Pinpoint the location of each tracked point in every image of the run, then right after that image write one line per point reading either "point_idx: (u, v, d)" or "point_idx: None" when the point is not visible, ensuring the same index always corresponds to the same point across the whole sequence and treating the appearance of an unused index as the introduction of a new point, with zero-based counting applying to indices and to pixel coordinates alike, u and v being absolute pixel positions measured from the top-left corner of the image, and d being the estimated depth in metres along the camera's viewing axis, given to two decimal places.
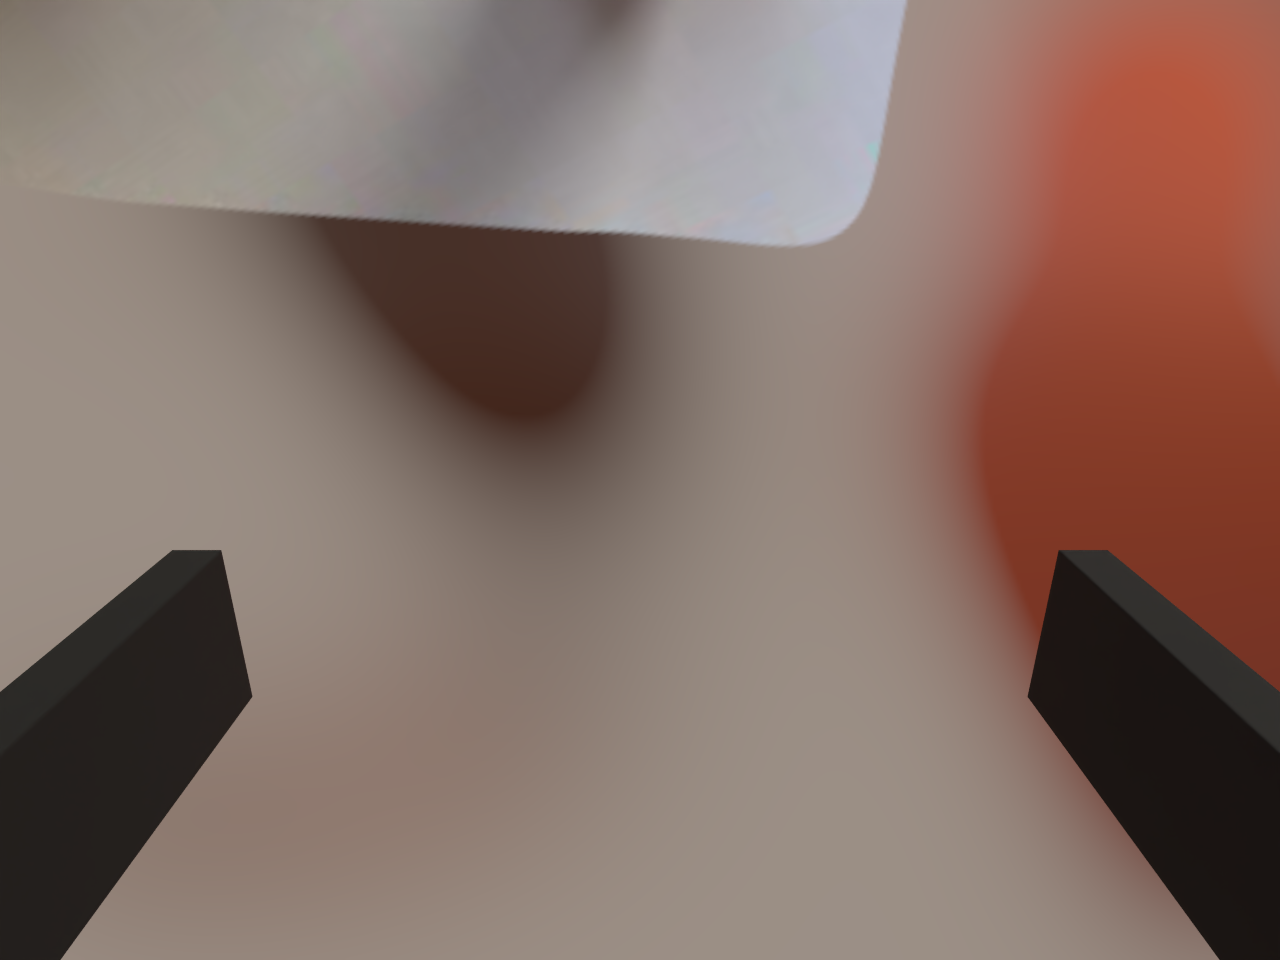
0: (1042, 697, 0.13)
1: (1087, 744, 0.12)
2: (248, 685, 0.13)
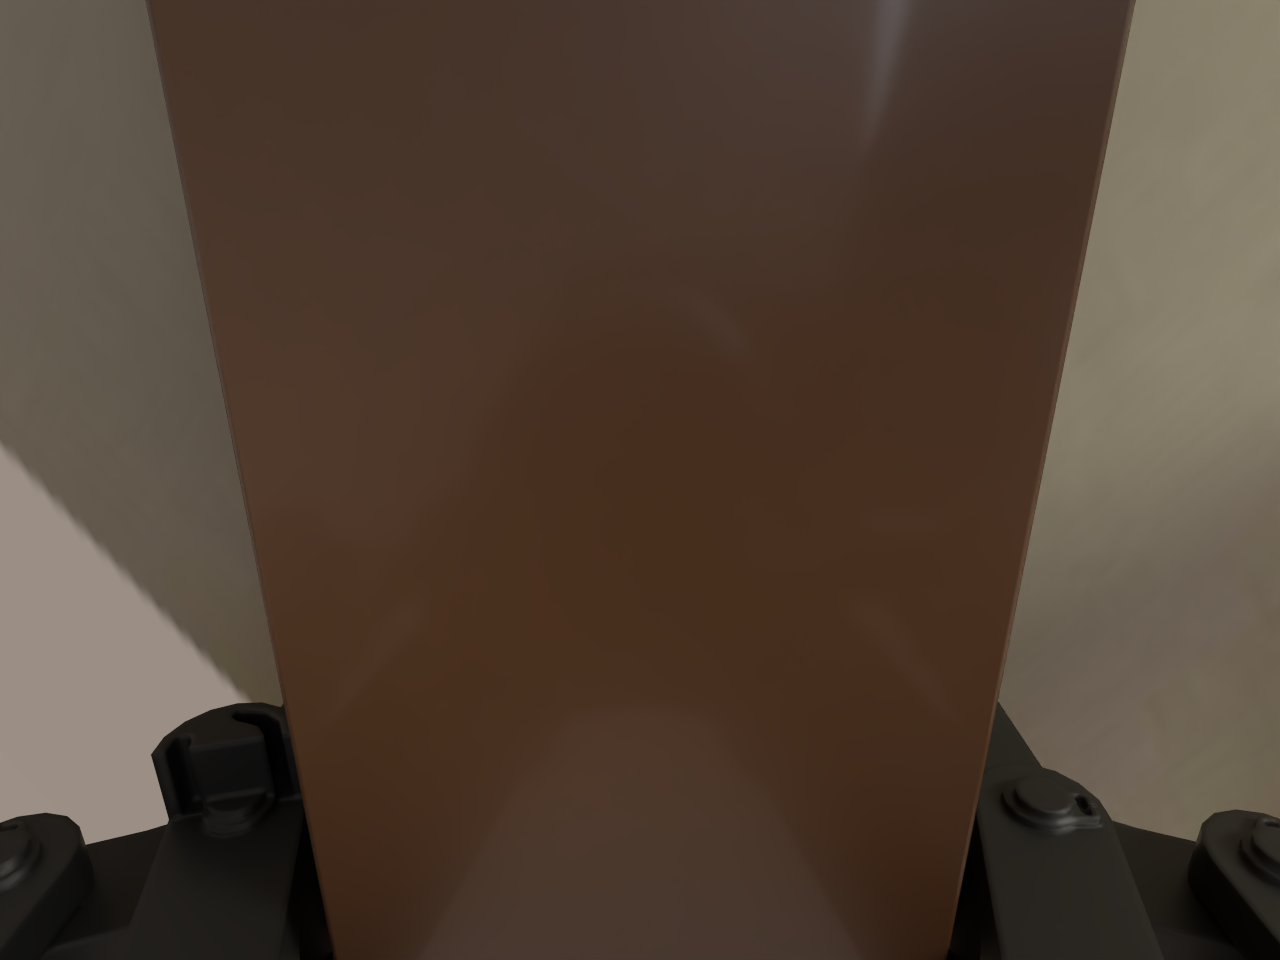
0: None
1: None
2: None
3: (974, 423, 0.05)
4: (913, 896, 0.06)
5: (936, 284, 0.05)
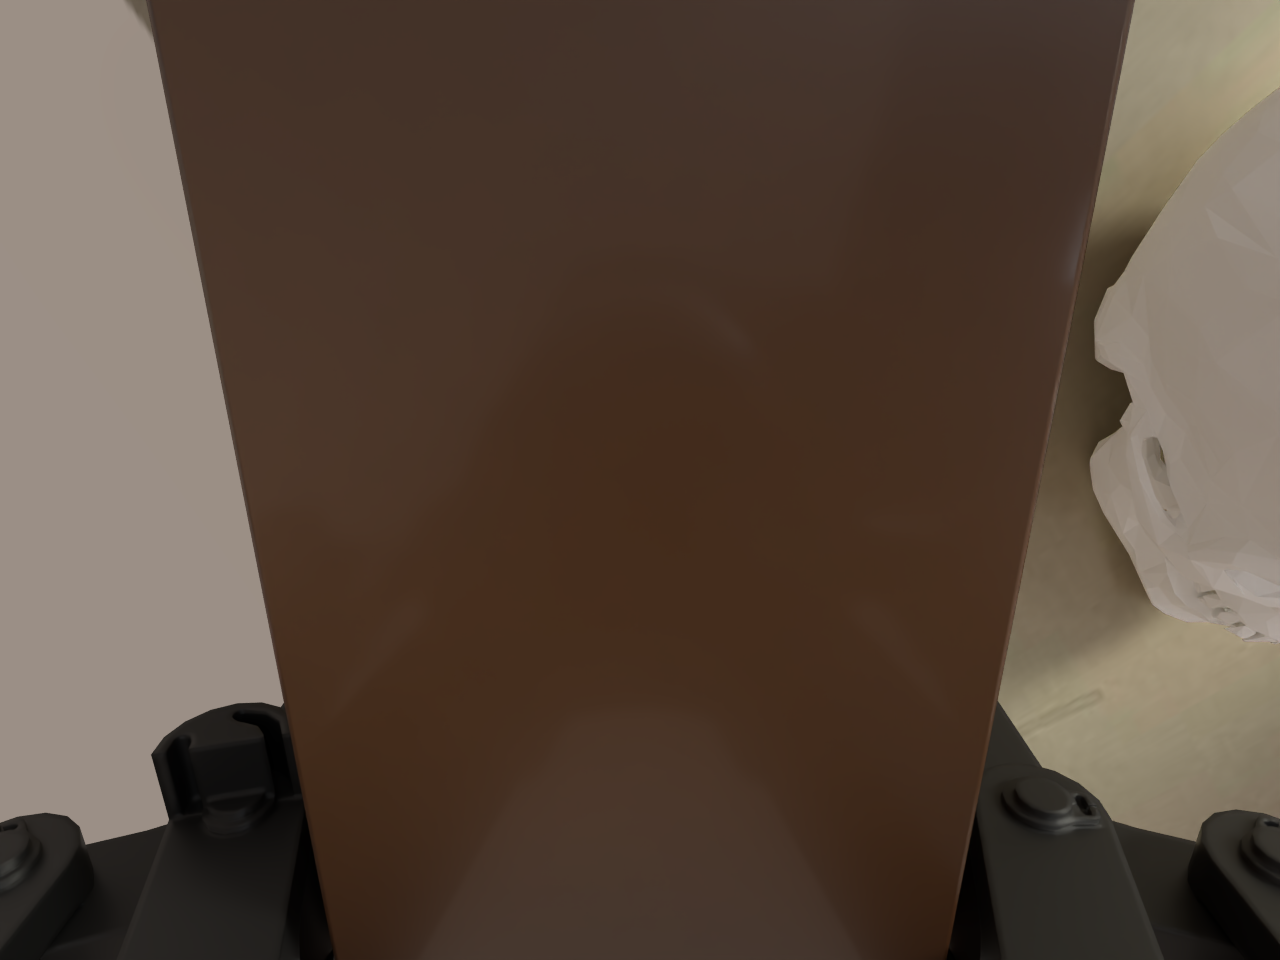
0: None
1: None
2: None
3: (974, 422, 0.05)
4: (913, 895, 0.06)
5: (936, 284, 0.05)
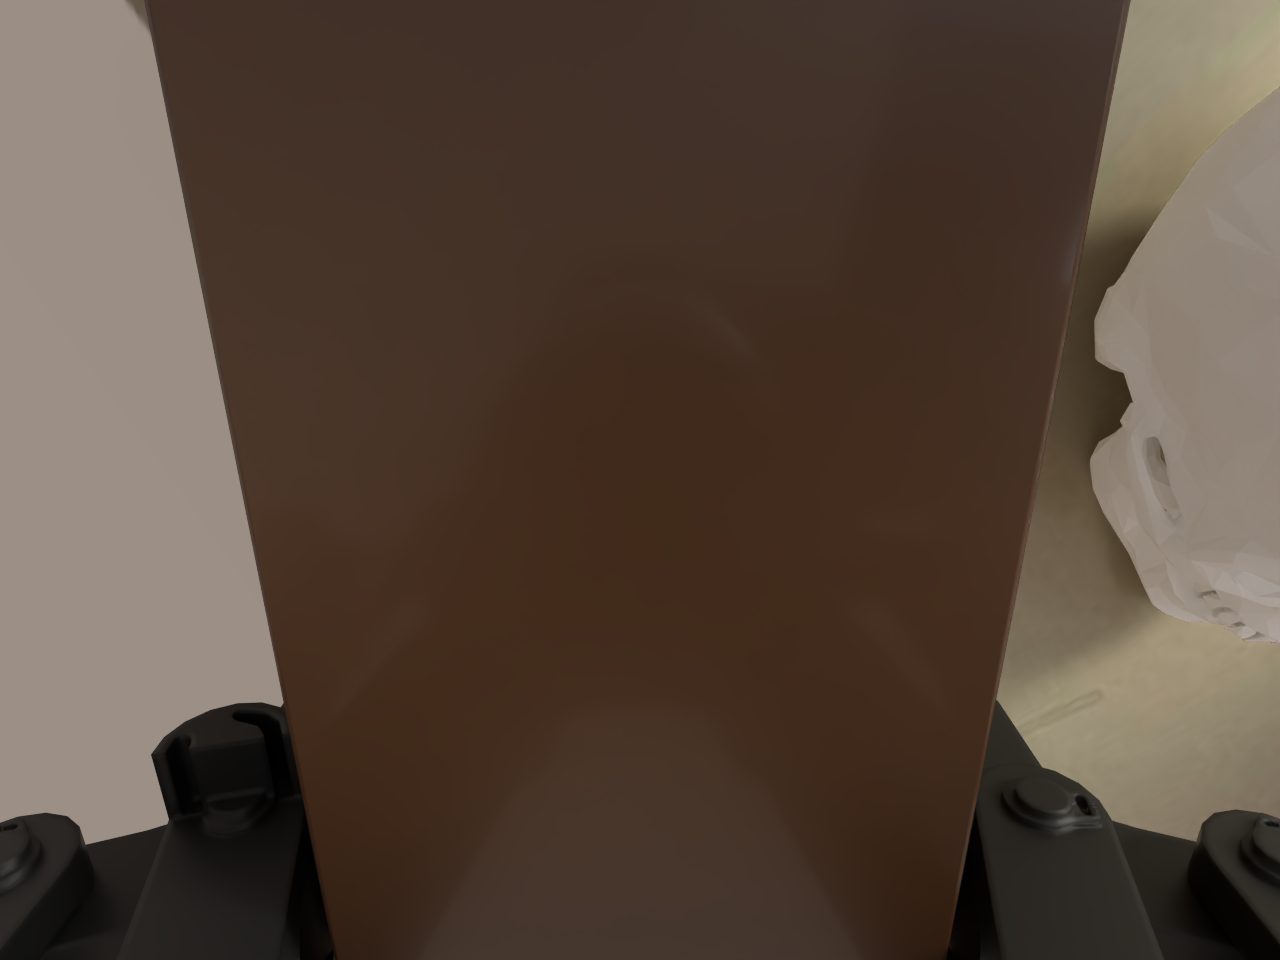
0: None
1: None
2: None
3: (971, 419, 0.05)
4: (912, 893, 0.06)
5: (931, 283, 0.05)
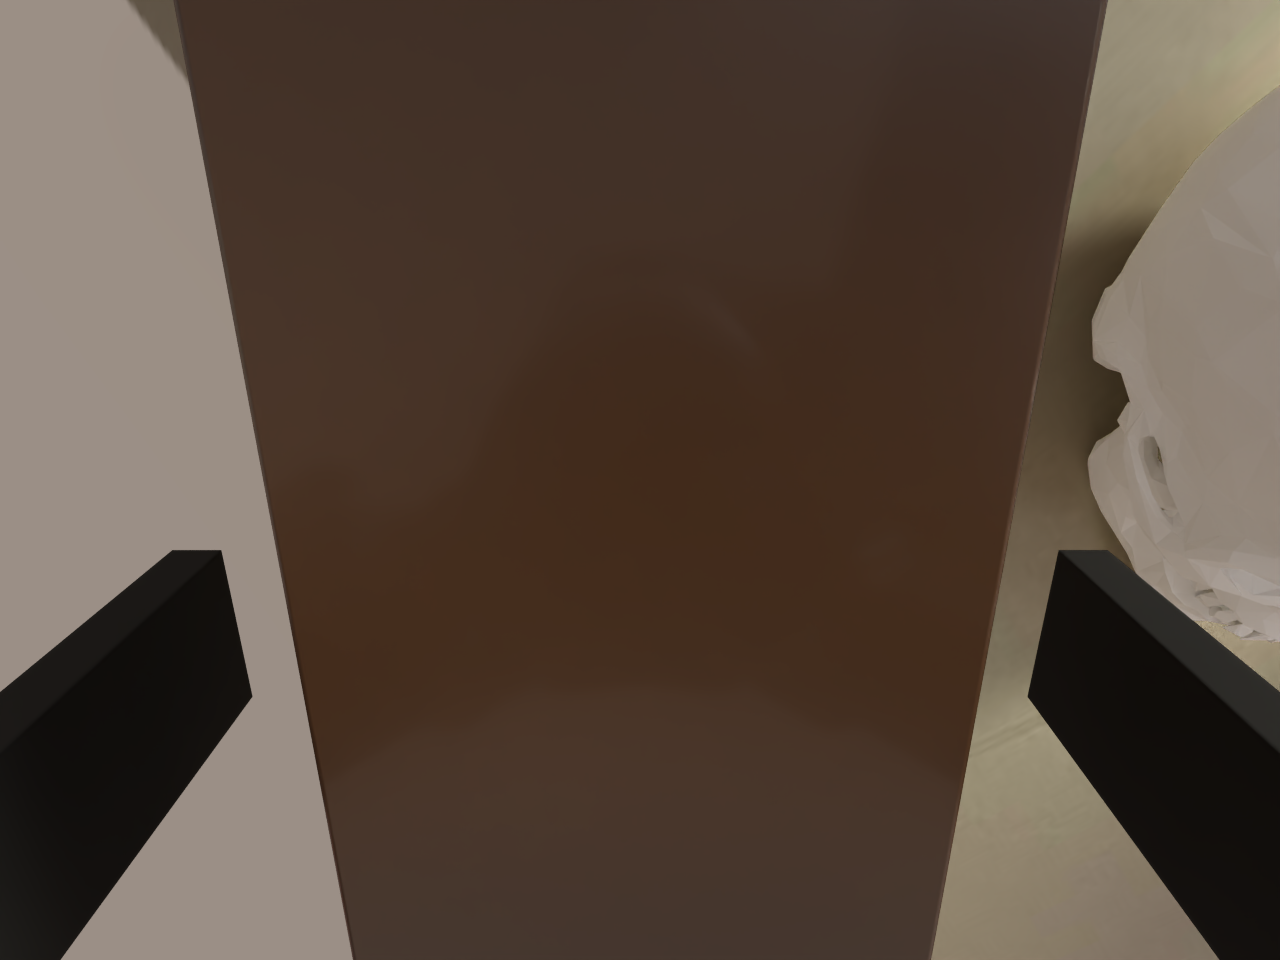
0: (1042, 697, 0.13)
1: (1087, 744, 0.12)
2: (248, 685, 0.13)
3: (958, 405, 0.05)
4: (904, 864, 0.06)
5: (919, 272, 0.05)
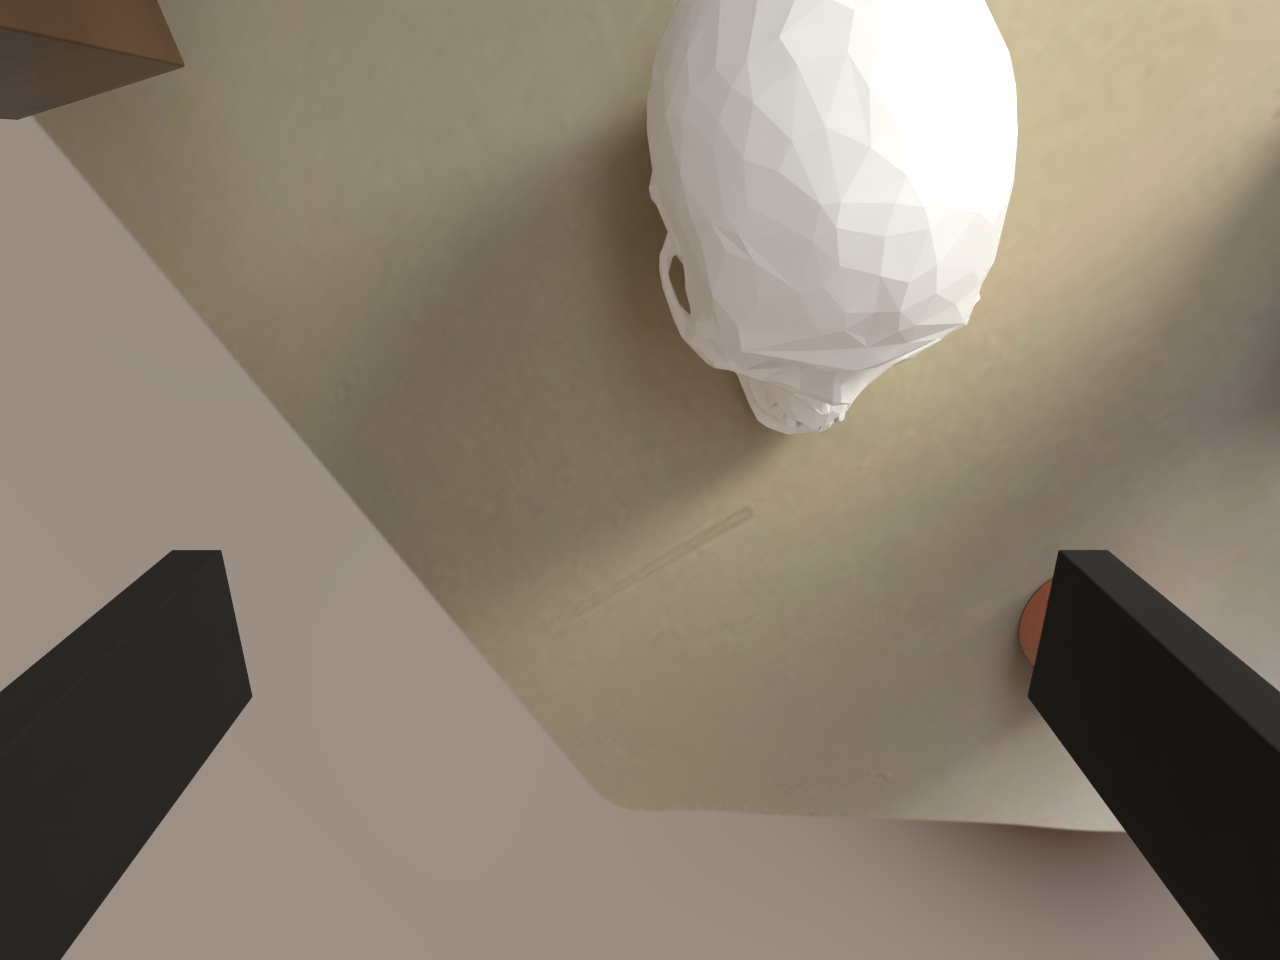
0: (1042, 697, 0.13)
1: (1087, 744, 0.11)
2: (248, 685, 0.13)
3: None
4: None
5: None
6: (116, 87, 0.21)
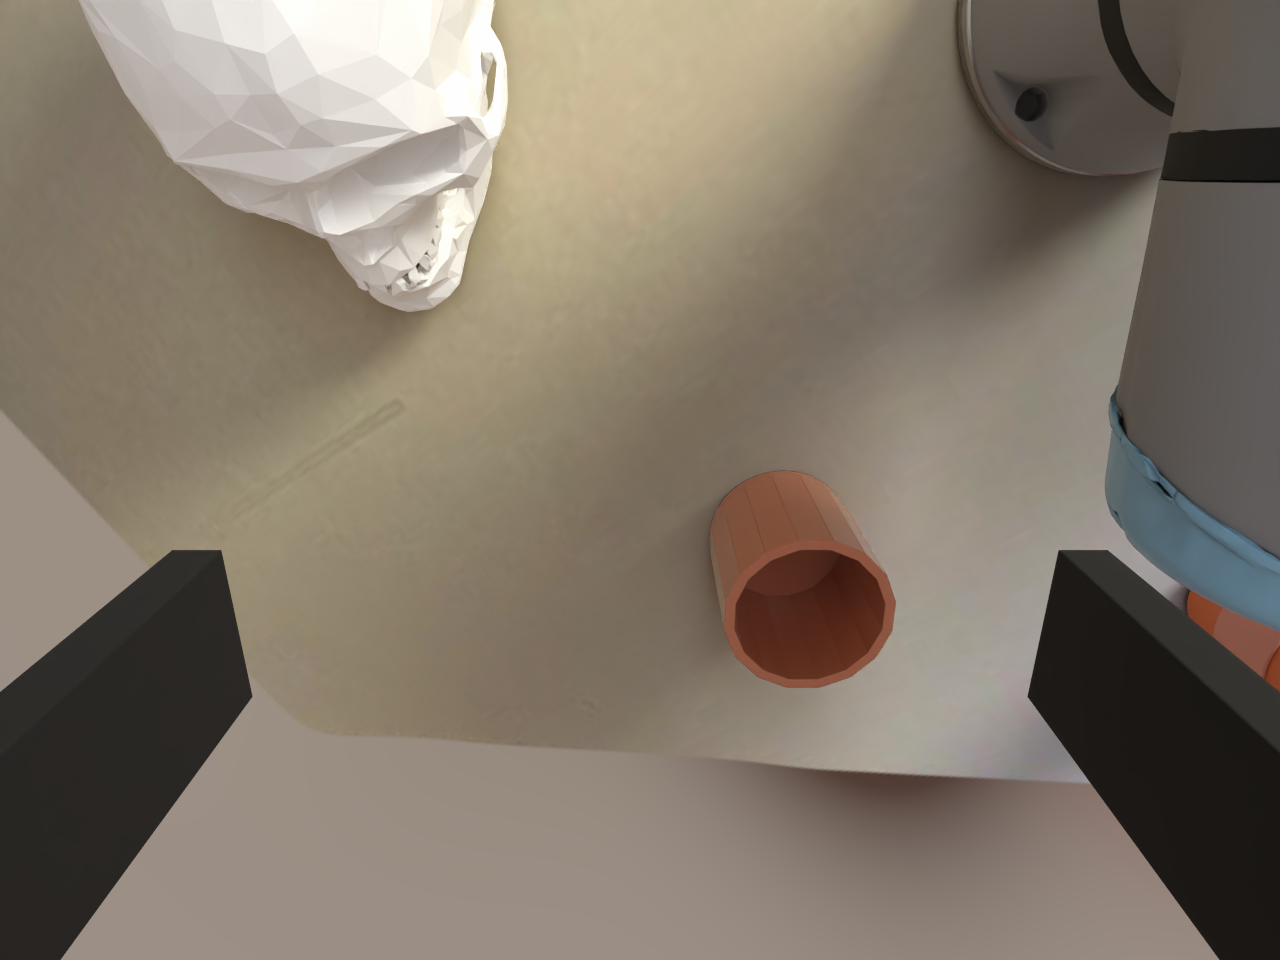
0: (1042, 697, 0.13)
1: (1087, 744, 0.12)
2: (248, 685, 0.13)
3: None
4: None
5: None
6: None
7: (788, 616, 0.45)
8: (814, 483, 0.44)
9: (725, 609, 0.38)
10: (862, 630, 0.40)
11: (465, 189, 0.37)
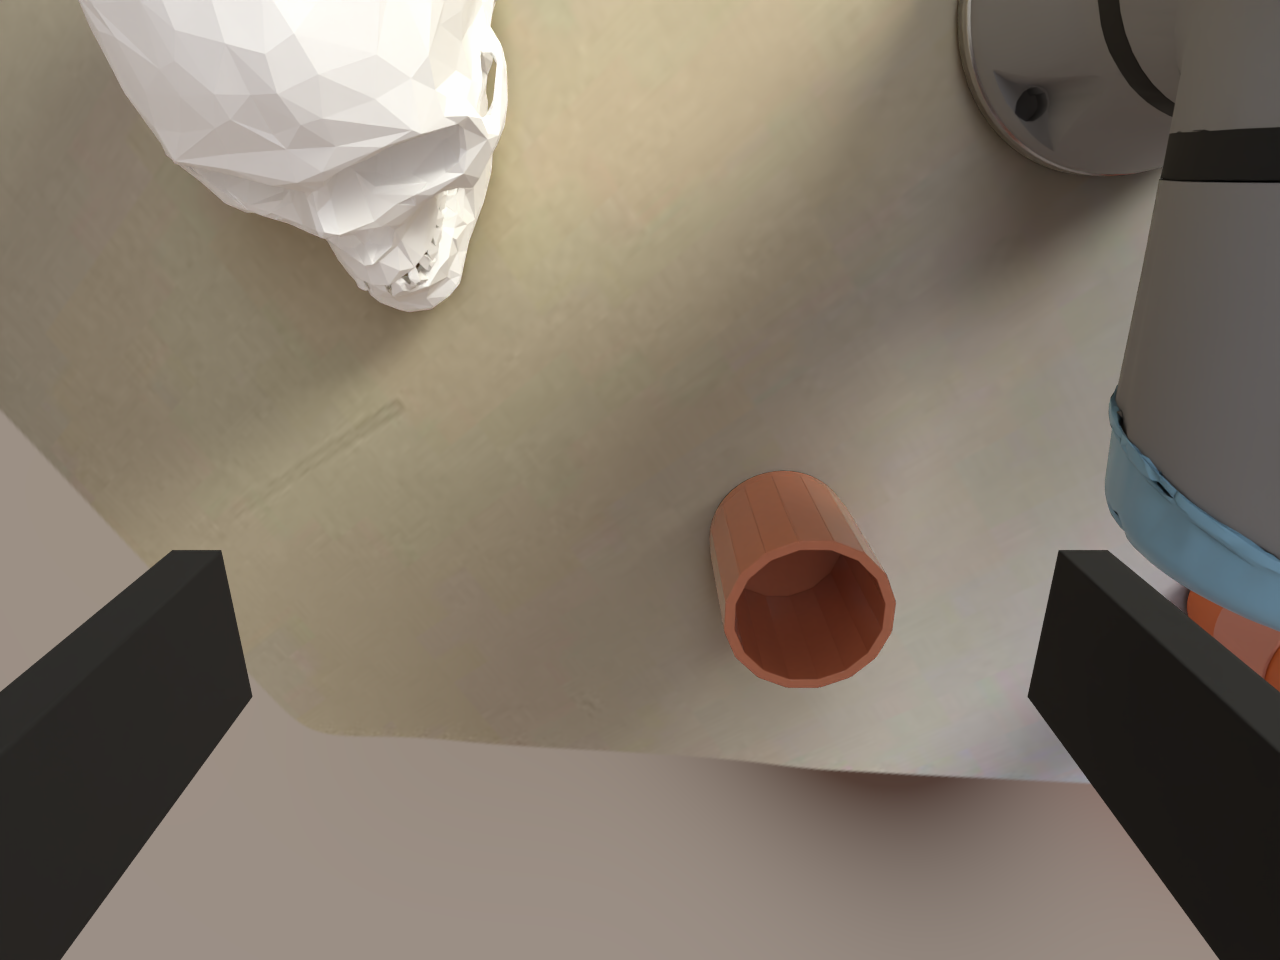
0: (1042, 697, 0.13)
1: (1087, 744, 0.12)
2: (248, 685, 0.13)
3: None
4: None
5: None
6: None
7: (788, 616, 0.45)
8: (814, 483, 0.44)
9: (725, 609, 0.38)
10: (862, 630, 0.40)
11: (465, 189, 0.37)
